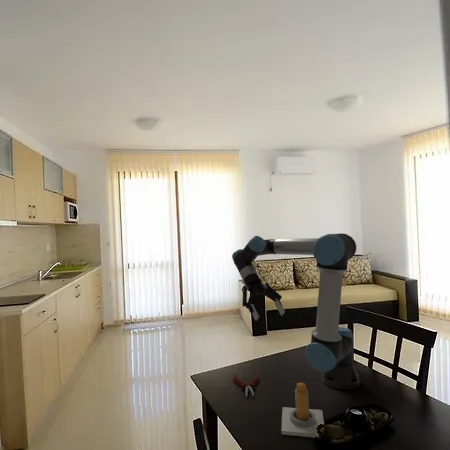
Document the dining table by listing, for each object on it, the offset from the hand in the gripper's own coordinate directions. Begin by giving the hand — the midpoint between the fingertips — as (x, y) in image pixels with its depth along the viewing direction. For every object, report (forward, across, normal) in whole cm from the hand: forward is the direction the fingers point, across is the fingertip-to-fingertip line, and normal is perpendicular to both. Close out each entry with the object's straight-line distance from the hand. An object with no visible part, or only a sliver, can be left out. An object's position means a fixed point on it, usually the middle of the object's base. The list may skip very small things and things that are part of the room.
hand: (270, 316), depth 137 cm
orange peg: (+39, +7, -1) cm, 40 cm away
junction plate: (+40, +7, -2) cm, 41 cm away
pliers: (+17, +11, -26) cm, 33 cm away
